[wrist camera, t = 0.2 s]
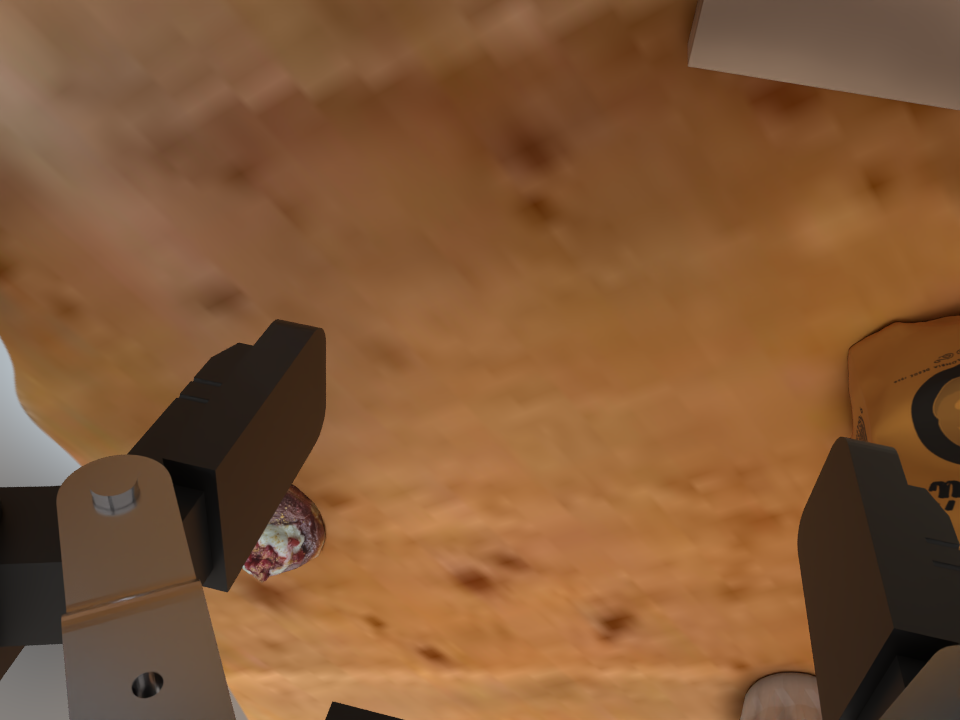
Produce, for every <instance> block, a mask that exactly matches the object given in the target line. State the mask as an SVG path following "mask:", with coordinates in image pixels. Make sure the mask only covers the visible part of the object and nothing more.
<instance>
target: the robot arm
mask: <svg viewBox="0 0 960 720" xmlns="http://www.w3.org/2000/svg"><path fill="white" fill-rule="evenodd" d="M325 409H326V338H325V333H324V330H323V329H322V328H318V327H313V326H308V325H303V324H298V323H294V322H289V321H284V320H279V319H277V320H275V321H273V322H272V323H271V325H270V326H269V327H268V328H267V330H266V331H265V332H264V333H263V335H262V336H261V337H260V338H259V339H258V341H257V342H256V343H255V344H254V346H252V345H247V344H243V343H237V344H235V345H234V346H232V347H230V348H228V349H226V350H224V351H222V352H221V353H219V354H217V355H215V356H213V357H211V359H210V360H209V361H208V362H207V363H206V364H205V365H204V367H203V368H202V369H201V370H200V371H199V372H198V373H197V375H196V376H195V377H194V381H193V382H192V381H191V382H190V383H189V384H188V385H187V386H186V387H185V388H184V390H183V391H182V392H181V393H180V397H179V398H176V399H175V400H174V401H173V402H172V403H171V404H170V406H169V407H168V408H167V409H166V410H165V411H164V413H163V414H162V415H161V416H160V417H159V418H158V419H157V421H156V422H155V423H154V424H153V425H152V426H151V427H150V429H149V430H148V431H147V432H146V433H145V434H144V436H143V437H142V438H141V439H140V440H139V441H138V442H137V444H136V445H135V446H134V447H133V448H132V449H131V450H130V452H129V453H128V454H127V455H116V456H109V457H105V458H101V459H98V460H95V461H93V462H90V463H88V464H86V465H84V466H82V467H80V468H79V469H78V470H76V471H74V473H72V474H71V475H70V476H68V477H67V479H66V480H65V481H64V482H63V483H62V485H61V486H50V487H49V486H47V487H45V486H44V487H0V680H1V679H2V677H3V675H4V674H5V673H6V672H7V670H8V669H9V667H10V666H11V665H12V663H13V662H14V660H15V659H16V658H17V656H18V655H19V653H20V652H21V651H22V649H23V648H24V646H27V645H46V644H63V651H64V662H65V673H66V674H65V675H66V686H67V697H68V708H69V719H70V720H236V718H235V714H234V711H233V706H232V702H231V699H230V695H229V690H228V686H227V682H226V678H225V675H224V671H223V667H222V663H221V659H220V655H219V651H218V647H217V643H216V639H215V635H214V631H213V627H212V623H211V619H210V615H209V611H208V607H207V603H206V599H205V595H204V592H203V588H202V586H204V587H208V588H212V589H216V590H220V591H224V592H228V591H229V590H230V588H231V586H232V584H233V583H234V581H235V579H236V578H237V576H238V574H239V573H240V571H241V569H242V568H243V566H244V564H245V562H246V561H247V559H248V557H249V556H250V554H251V552H252V551H253V549H254V547H255V545H256V544H257V542H258V540H259V539H260V537H261V535H262V534H263V532H264V530H265V528H266V527H267V525H268V523H269V522H270V520H271V518H272V517H273V515H274V513H275V511H276V510H277V508H278V506H279V505H280V503H281V501H282V500H283V498H284V496H285V494H286V493H287V491H288V489H289V488H290V486H291V484H292V483H293V481H294V479H295V477H296V476H297V474H298V472H299V471H300V469H301V467H302V466H303V464H304V462H305V460H306V459H307V457H308V455H309V454H310V452H311V450H312V449H313V447H314V445H315V443H316V442H317V439H318V437H319V435H320V432H321V429H322V425H323V421H324V417H325ZM797 544H798V556H799V563H800V570H801V577H802V584H803V590H804V597H805V604H806V611H807V618H808V625H809V632H810V639H811V645H812V652H813V659H814V666H815V673H816V680H817V687H818V694H819V700H820V707H821V714H822V720H960V550H959V546H960V544H959V541H958V538H957V535H956V533H955V530H954V527H953V525H952V522H951V519H950V516H949V515H948V514H947V513H946V512H945V511H944V509H943V508H942V507H941V506H940V505H939V504H938V502H937V501H936V500H935V499H934V498H933V497H932V495H931V494H930V493H929V492H928V491H927V490H926V488H921V487H916V486H911V485H908V483H907V480H906V477H905V474H904V471H903V468H902V465H901V461H900V458H899V455H898V453H897V451H896V449H895V448H893V447H890V446H885V445H880V444H875V443H870V442H865V441H861V440H856V439H851V438H846V437H839V438H838V439H837V440H836V441H835V443H834V444H833V446H832V448H831V450H830V453H829V455H828V457H827V459H826V461H825V464H824V466H823V468H822V470H821V473H820V475H819V477H818V479H817V482H816V484H815V486H814V488H813V490H812V493H811V495H810V497H809V499H808V502H807V504H806V506H805V508H804V511H803V514H802V517H801V521H800V525H799V531H798V543H797ZM325 720H403V719H399V718H395V717H391V716H387V715H384V714H380V713H376V712H372V711H368V710H364V709H360V708H356V707H352V706H349V705H345V704H341V703H337V702H332V704H331V707H330V709H329V712H328V714H327V717H326V719H325Z"/></svg>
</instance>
